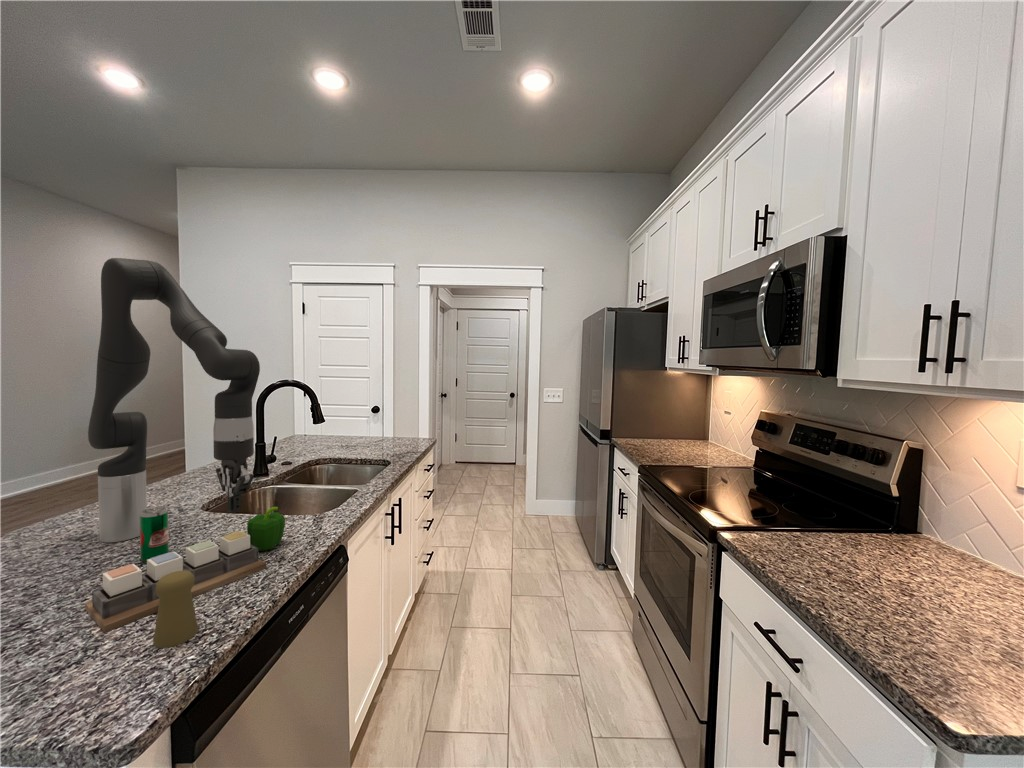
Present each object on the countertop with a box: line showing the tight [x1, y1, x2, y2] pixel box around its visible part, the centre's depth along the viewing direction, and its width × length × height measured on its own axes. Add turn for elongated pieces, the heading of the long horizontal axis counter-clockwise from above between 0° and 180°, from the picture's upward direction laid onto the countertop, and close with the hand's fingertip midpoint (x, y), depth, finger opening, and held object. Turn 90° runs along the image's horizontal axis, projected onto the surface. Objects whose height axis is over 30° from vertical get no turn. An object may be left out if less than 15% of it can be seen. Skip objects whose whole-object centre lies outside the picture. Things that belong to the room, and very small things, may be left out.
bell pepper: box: [246, 506, 286, 552], centre depth 103 cm, size 8×8×10 cm
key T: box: [146, 551, 184, 581], centre depth 81 cm, size 4×4×3 cm
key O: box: [102, 563, 143, 597], centre depth 76 cm, size 4×4×3 cm
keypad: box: [84, 544, 267, 633], centre depth 84 cm, size 12×27×4 cm, turn 148°
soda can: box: [139, 505, 170, 564], centre depth 95 cm, size 5×5×12 cm
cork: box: [152, 570, 199, 649], centre depth 69 cm, size 6×6×11 cm
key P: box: [219, 530, 250, 555], centre depth 92 cm, size 4×4×3 cm
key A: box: [185, 540, 220, 567], centre depth 87 cm, size 4×4×3 cm
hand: (234, 511), depth 92 cm, fingers closed
